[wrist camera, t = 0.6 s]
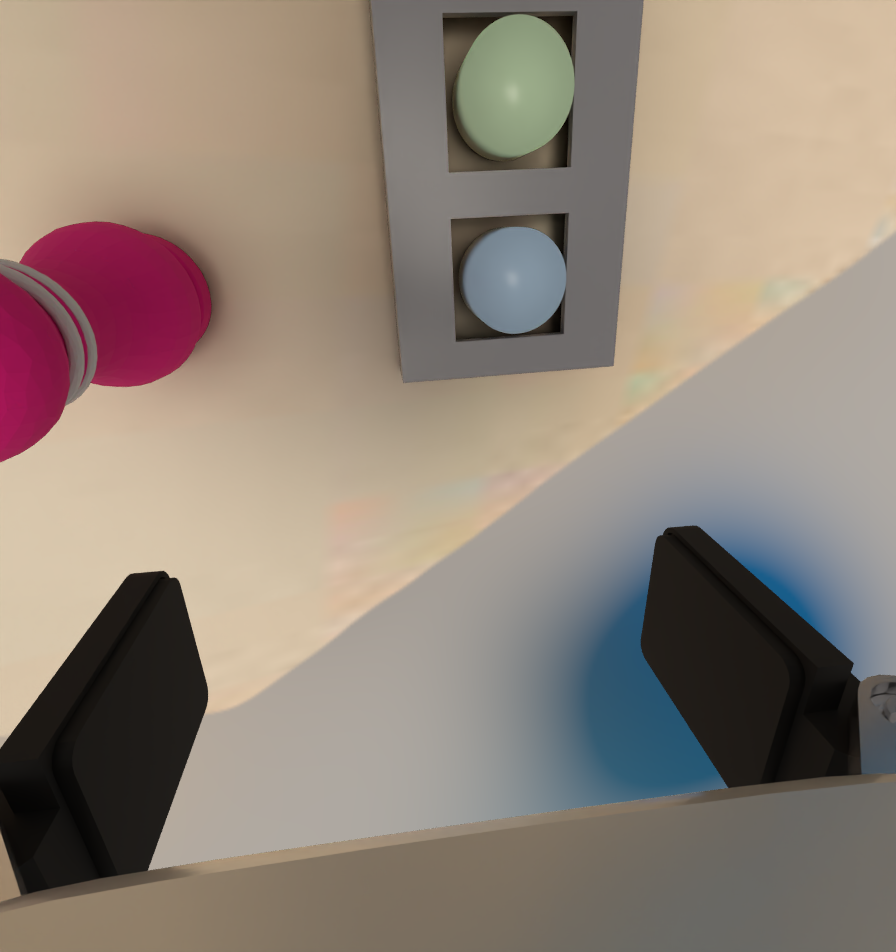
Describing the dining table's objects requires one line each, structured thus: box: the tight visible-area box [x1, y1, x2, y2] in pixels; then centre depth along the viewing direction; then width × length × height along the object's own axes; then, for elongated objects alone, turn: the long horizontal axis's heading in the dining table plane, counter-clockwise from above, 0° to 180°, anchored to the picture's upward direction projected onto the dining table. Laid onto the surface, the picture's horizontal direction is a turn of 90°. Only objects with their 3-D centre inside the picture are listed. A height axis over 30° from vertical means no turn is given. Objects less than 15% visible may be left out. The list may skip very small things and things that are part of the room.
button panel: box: [369, 0, 643, 383], centre depth 26 cm, size 26×12×3 cm, turn 3°
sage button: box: [452, 14, 575, 161], centre depth 25 cm, size 5×5×3 cm
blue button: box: [459, 227, 566, 334], centre depth 28 cm, size 5×5×3 cm
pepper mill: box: [0, 222, 211, 462], centre depth 20 cm, size 7×7×20 cm
